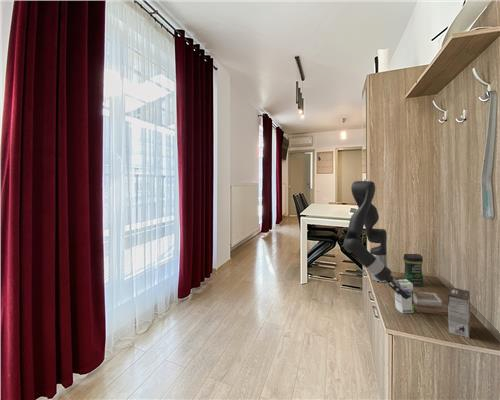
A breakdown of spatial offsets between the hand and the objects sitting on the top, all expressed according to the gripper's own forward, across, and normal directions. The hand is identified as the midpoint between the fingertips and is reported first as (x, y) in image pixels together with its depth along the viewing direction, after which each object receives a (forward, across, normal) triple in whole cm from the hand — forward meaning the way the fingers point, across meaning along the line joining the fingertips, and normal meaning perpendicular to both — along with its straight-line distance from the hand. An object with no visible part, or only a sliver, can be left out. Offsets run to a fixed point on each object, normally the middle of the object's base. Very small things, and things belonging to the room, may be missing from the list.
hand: (405, 294), depth 114 cm
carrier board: (+14, +10, -2) cm, 17 cm away
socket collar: (+12, +8, -3) cm, 15 cm away
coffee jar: (+14, +35, -2) cm, 38 cm away
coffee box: (+18, -12, -6) cm, 22 cm away
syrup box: (+6, 0, +6) cm, 9 cm away
